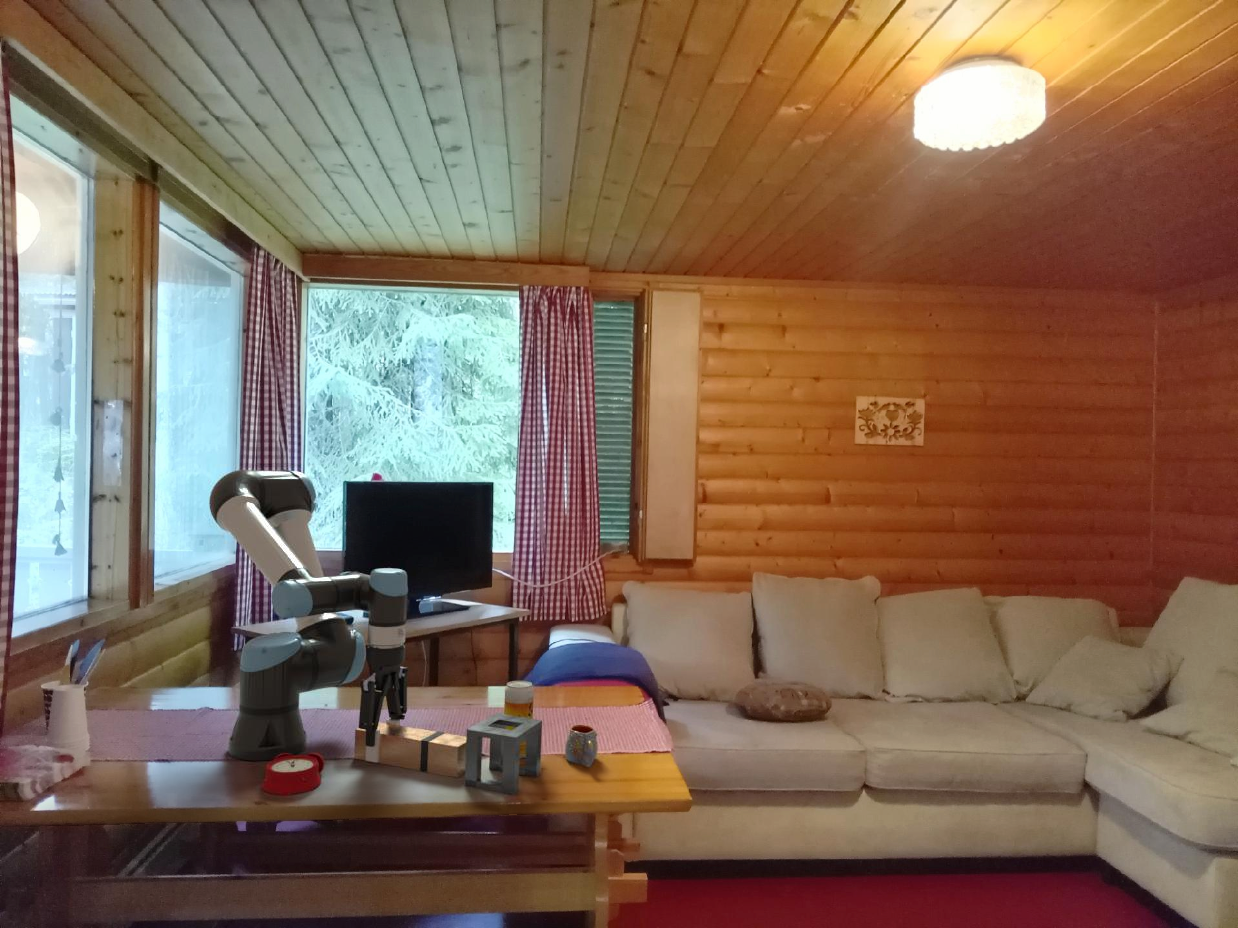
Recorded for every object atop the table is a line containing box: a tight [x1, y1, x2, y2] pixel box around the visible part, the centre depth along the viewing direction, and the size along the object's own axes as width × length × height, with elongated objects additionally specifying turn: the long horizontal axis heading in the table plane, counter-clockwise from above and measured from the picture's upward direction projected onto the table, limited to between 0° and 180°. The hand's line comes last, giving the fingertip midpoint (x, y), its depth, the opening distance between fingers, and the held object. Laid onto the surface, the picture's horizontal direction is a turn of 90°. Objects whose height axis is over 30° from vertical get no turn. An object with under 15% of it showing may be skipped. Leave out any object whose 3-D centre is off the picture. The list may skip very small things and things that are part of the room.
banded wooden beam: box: [353, 721, 466, 778], centre depth 174 cm, size 24×6×6 cm, turn 71°
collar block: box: [464, 712, 543, 796], centre depth 167 cm, size 10×12×11 cm
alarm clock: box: [261, 752, 325, 797], centre depth 162 cm, size 10×6×15 cm
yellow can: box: [503, 680, 535, 759], centre depth 181 cm, size 6×6×15 cm
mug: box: [564, 724, 599, 768], centre depth 177 cm, size 12×7×7 cm, turn 13°
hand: (382, 755), depth 176 cm, fingers closed on banded wooden beam, 6 cm apart
